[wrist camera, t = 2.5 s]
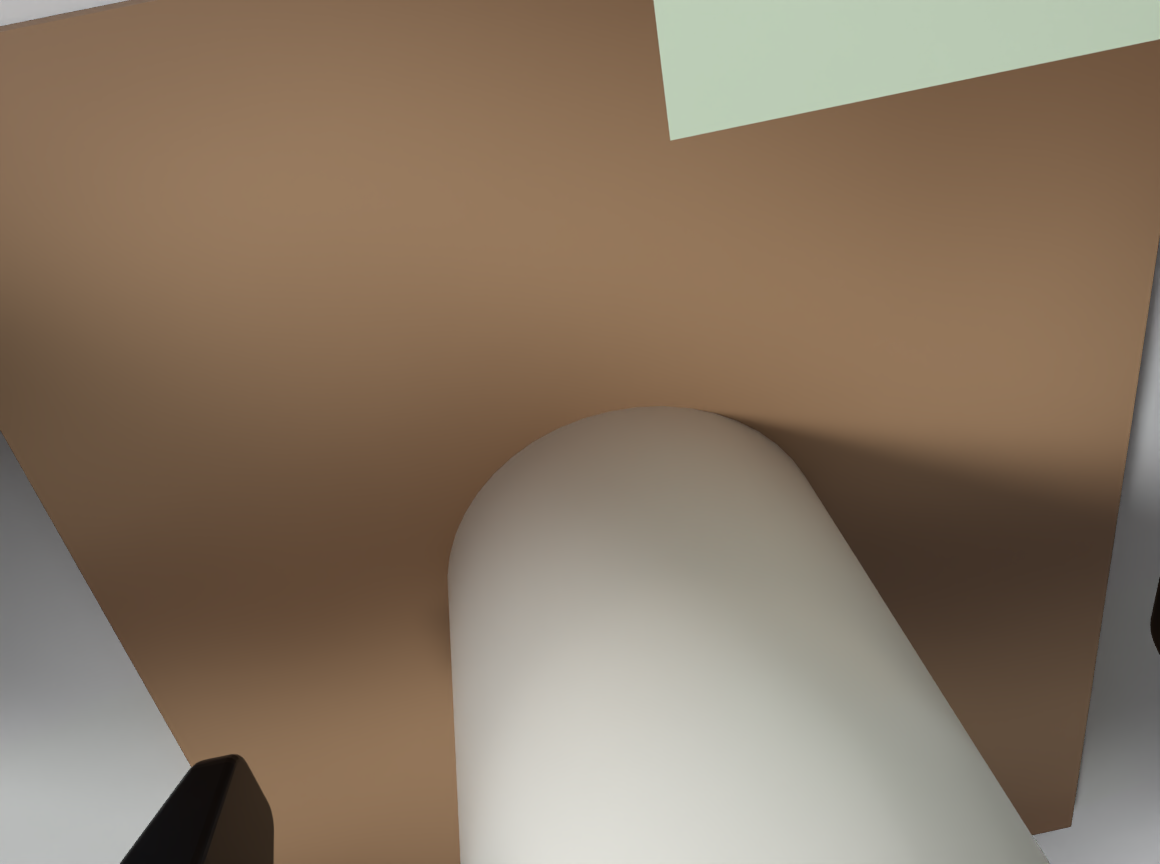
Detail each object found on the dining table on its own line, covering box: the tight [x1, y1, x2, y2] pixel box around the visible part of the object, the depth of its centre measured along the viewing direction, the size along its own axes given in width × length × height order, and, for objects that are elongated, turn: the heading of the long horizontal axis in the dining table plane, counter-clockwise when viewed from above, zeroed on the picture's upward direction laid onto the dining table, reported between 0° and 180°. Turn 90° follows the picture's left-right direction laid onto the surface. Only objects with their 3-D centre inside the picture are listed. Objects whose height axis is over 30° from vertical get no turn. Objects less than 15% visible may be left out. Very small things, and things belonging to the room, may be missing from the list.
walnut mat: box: [0, 0, 1160, 864], centre depth 12 cm, size 14×12×1 cm
